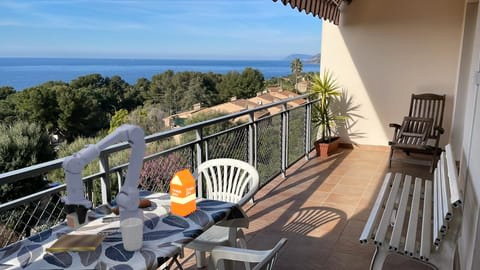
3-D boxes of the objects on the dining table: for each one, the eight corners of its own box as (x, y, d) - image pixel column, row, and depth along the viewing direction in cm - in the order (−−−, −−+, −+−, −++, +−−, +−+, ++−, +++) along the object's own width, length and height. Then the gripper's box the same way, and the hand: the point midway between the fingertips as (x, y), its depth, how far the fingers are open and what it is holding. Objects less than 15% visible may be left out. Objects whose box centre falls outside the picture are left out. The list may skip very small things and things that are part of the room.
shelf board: (107, 235, 150) (107, 231, 150) (94, 252, 136) (94, 248, 136) (63, 236, 150) (62, 232, 150) (45, 253, 136) (44, 249, 136)
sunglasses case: (143, 201, 188) (146, 192, 185) (149, 211, 184) (152, 202, 181) (108, 210, 176) (110, 201, 173) (114, 221, 173) (116, 212, 169)
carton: (88, 224, 143) (87, 211, 142) (74, 230, 137) (73, 217, 136) (81, 222, 145) (80, 210, 144) (67, 228, 139) (66, 215, 138)
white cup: (132, 254, 135) (130, 228, 133) (117, 248, 139) (115, 223, 137) (148, 245, 141) (147, 220, 140) (133, 240, 146) (132, 216, 144)
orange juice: (196, 210, 176) (194, 169, 173) (183, 216, 169) (182, 174, 166) (183, 207, 180) (182, 167, 177) (170, 213, 173) (169, 171, 170)
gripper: (52, 188, 138) (55, 222, 141) (79, 194, 132) (82, 230, 134) (68, 183, 144) (71, 216, 147) (95, 188, 138) (98, 223, 140)
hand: (77, 222), depth 141 cm, fingers closed on carton, 4 cm apart
